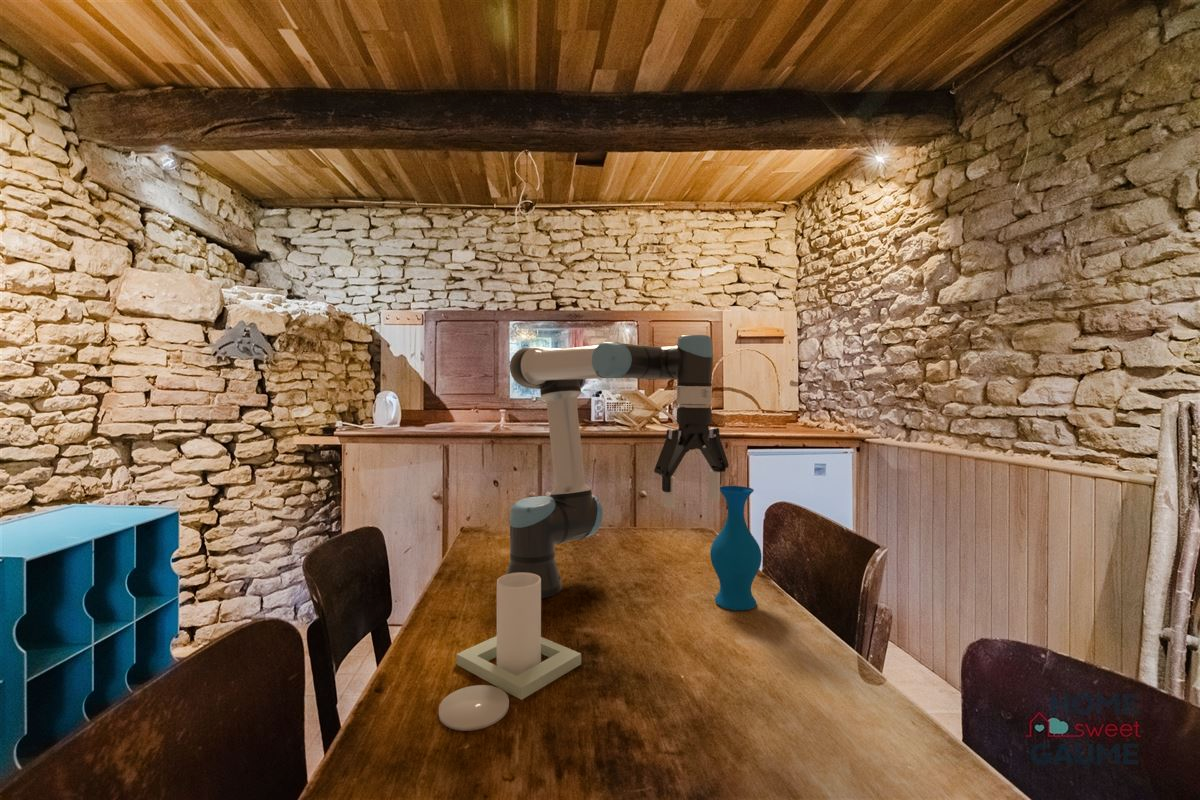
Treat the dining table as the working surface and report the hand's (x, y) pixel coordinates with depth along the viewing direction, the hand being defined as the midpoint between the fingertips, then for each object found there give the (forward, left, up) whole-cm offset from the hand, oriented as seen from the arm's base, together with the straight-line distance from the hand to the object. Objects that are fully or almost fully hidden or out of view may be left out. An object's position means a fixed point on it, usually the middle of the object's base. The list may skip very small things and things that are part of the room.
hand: (692, 503), depth 114 cm
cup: (-17, -35, -27) cm, 48 cm away
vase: (+2, +18, -27) cm, 33 cm away
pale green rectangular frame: (-17, -35, -27) cm, 47 cm away
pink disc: (-12, -49, -27) cm, 57 cm away
